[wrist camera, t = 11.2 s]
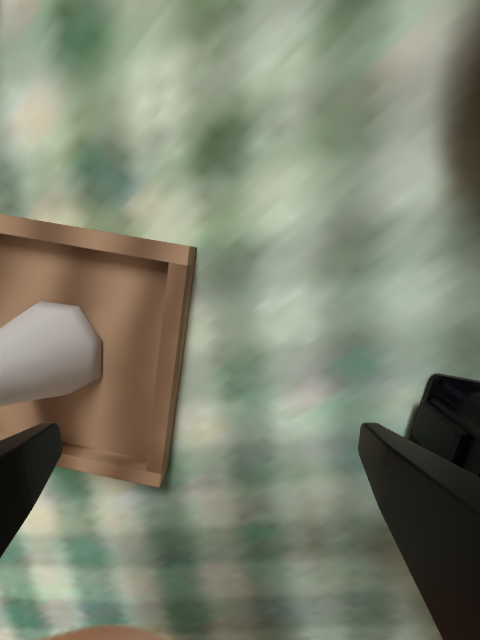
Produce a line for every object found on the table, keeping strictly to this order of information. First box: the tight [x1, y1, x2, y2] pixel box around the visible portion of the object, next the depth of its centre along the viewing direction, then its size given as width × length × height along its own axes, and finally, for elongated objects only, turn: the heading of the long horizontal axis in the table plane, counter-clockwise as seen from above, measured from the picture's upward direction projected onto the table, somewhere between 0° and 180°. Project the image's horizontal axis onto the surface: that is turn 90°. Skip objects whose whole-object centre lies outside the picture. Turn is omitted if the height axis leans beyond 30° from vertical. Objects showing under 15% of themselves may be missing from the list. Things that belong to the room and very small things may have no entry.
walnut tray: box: [0, 214, 197, 488], centre depth 22 cm, size 18×18×2 cm
